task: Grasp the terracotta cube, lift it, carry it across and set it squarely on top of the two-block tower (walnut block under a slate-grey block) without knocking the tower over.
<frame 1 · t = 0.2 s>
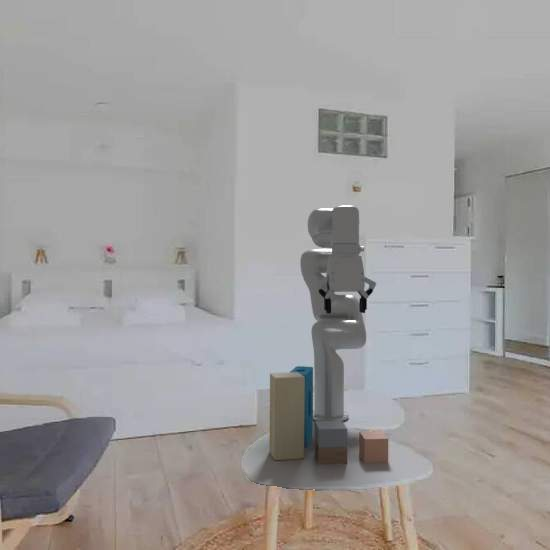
hand: (345, 312, 149), 36 cm above the table, tool pointing down, fingers open, 9 cm apart
tower bottom: (330, 459, 137), on the table, touching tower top
cream box: (286, 455, 140), on the table
block: (300, 442, 150), on the table
terracotta cube: (373, 458, 138), on the table
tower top: (330, 442, 137), point 4 cm above the table, touching tower bottom
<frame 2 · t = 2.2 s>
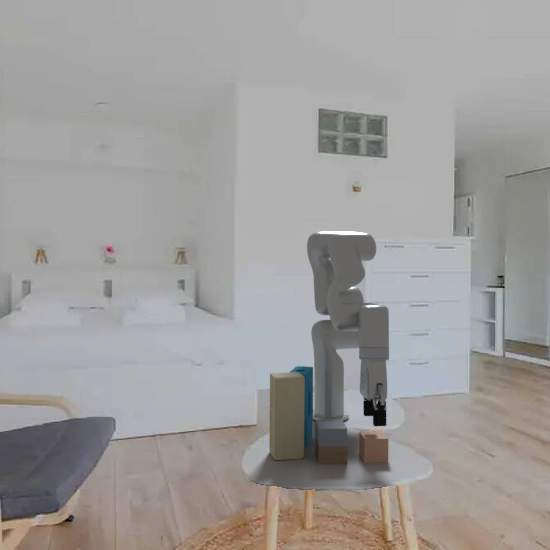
hand: (374, 420, 137), 10 cm above the table, tool pointing down, fingers open, 9 cm apart
nothing on the table moved.
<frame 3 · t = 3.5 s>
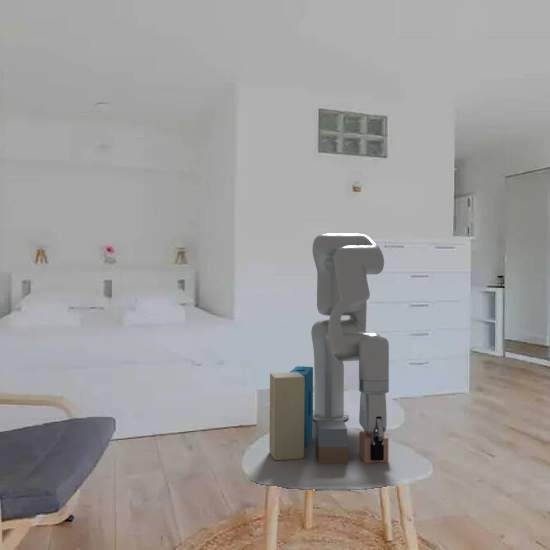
hand: (373, 454, 138), 1 cm above the table, tool pointing down, fingers closed on terracotta cube, 6 cm apart
terracotta cube: (373, 458, 138), on the table, touching gripper
everything else where it was.
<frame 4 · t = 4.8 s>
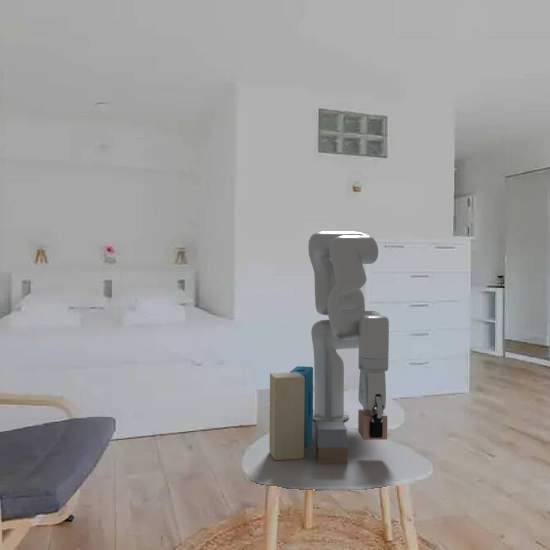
hand: (372, 432, 138), 6 cm above the table, tool pointing down, fingers closed on terracotta cube, 6 cm apart
terracotta cube: (372, 435, 138), point 6 cm above the table, touching gripper
everything else where it was.
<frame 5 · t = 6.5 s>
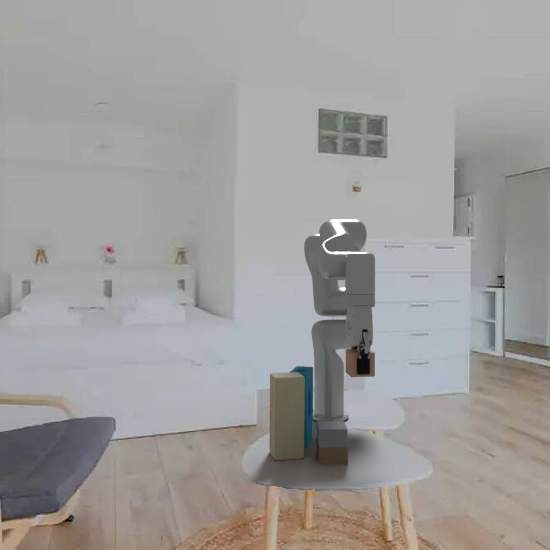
hand: (359, 370, 137), 22 cm above the table, tool pointing down, fingers closed on terracotta cube, 6 cm apart
terracotta cube: (359, 374, 137), point 22 cm above the table, touching gripper
everything else where it was.
when the fingers open (11 cm above the table, at t = 9.3 s): terracotta cube drops 1 cm, resting on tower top.
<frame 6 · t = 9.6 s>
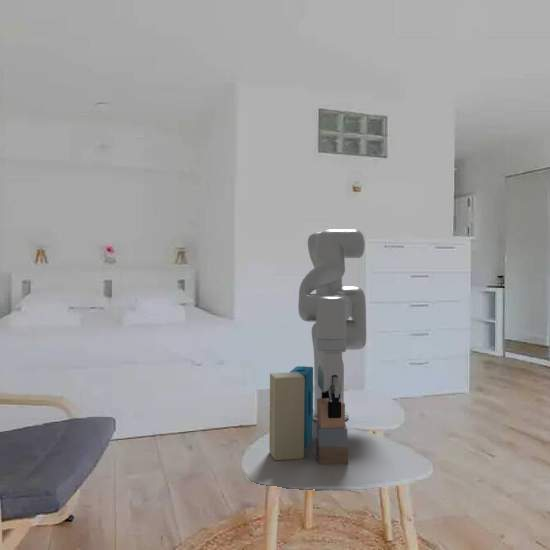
hand: (331, 412, 137), 12 cm above the table, tool pointing down, fingers open, 9 cm apart
terracotta cube: (330, 424, 137), point 9 cm above the table, touching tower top
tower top: (331, 442, 137), point 4 cm above the table, touching terracotta cube, tower bottom
everything else where it was.
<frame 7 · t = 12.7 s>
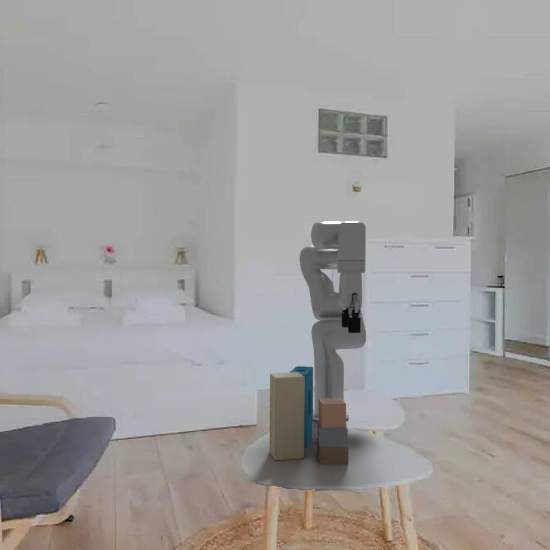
hand: (350, 329, 147), 32 cm above the table, tool pointing down, fingers open, 9 cm apart
nothing on the table moved.
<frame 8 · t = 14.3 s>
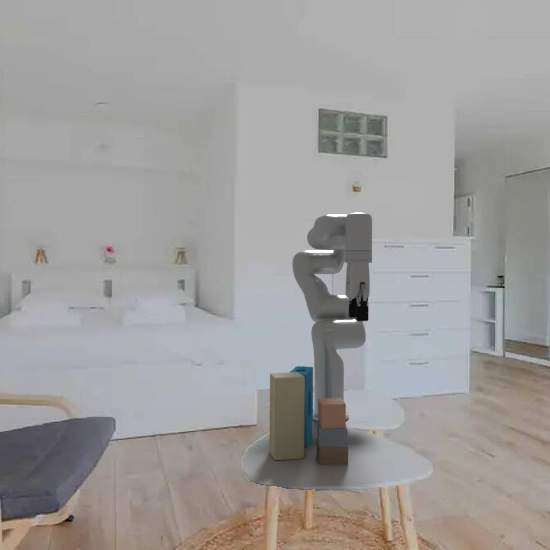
hand: (358, 319, 150), 34 cm above the table, tool pointing down, fingers open, 9 cm apart
nothing on the table moved.
at the end: terracotta cube 0.1 cm off-centre on the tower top, point 4.5 cm above the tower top's base; terracotta cube tilted 0°; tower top 0.1 cm off-centre on the tower bottom, point 4.5 cm above the tower bottom's base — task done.
